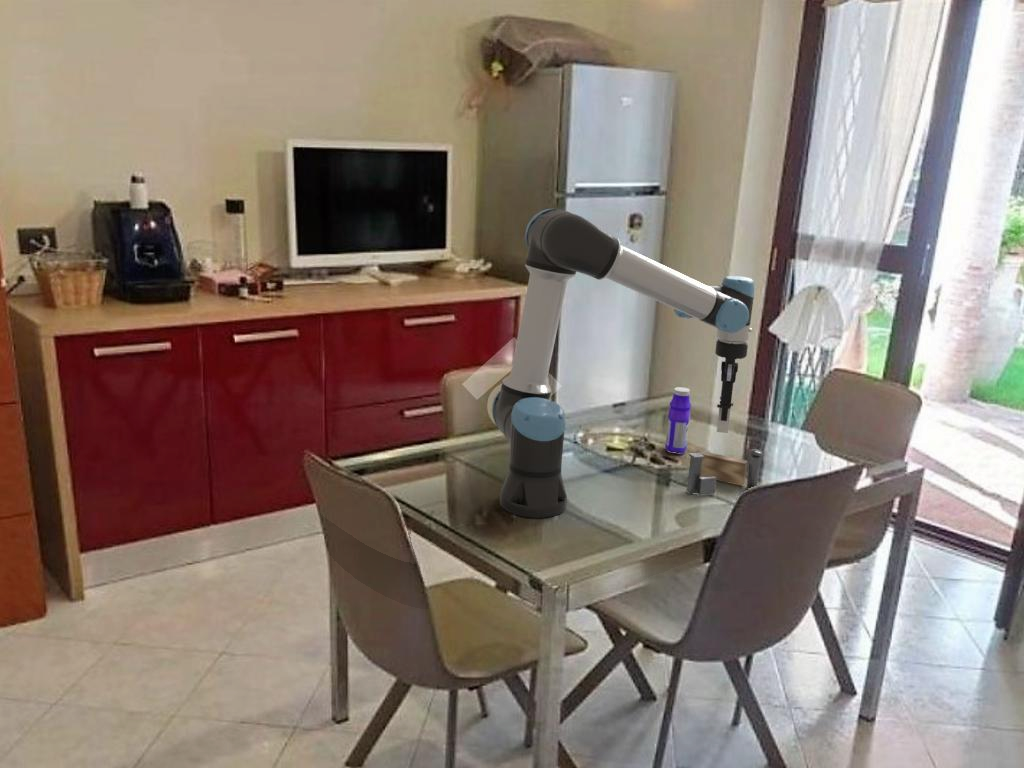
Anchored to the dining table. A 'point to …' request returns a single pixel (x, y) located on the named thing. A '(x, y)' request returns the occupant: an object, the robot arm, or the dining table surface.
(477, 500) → the dining table surface
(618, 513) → the dining table surface
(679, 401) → the bottle
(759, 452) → the hinge post
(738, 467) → the gate
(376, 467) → the dining table surface
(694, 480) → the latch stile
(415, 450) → the dining table surface
